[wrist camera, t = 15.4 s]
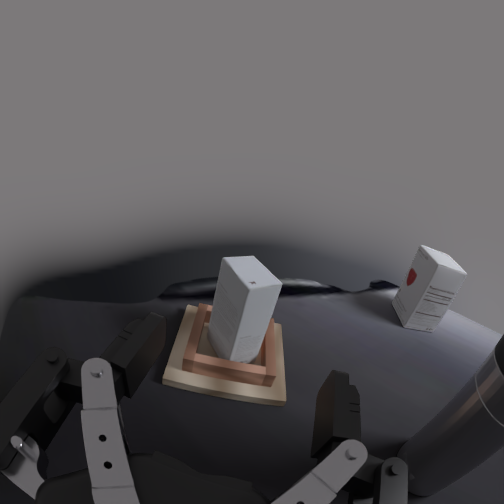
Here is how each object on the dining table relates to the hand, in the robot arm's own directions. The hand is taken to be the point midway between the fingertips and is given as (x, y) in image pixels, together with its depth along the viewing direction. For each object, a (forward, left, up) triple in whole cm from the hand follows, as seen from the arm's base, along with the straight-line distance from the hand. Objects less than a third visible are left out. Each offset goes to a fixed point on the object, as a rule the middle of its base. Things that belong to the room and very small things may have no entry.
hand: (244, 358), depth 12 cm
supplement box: (-39, -34, -18) cm, 55 cm away
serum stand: (-1, -17, -18) cm, 24 cm away
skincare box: (-1, -17, -17) cm, 24 cm away
